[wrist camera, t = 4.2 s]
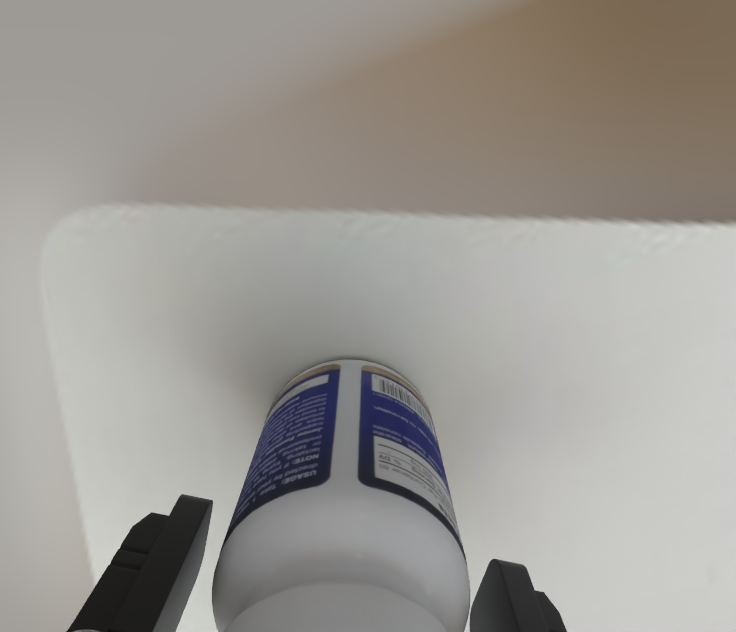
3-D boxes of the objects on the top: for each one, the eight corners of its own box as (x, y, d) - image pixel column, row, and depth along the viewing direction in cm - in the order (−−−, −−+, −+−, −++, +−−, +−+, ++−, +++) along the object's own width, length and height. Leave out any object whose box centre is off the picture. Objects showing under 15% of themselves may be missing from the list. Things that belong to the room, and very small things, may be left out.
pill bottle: (277, 500, 19) (185, 857, 10) (259, 357, 17) (124, 623, 8) (434, 494, 19) (499, 849, 9) (433, 349, 17) (511, 610, 8)
